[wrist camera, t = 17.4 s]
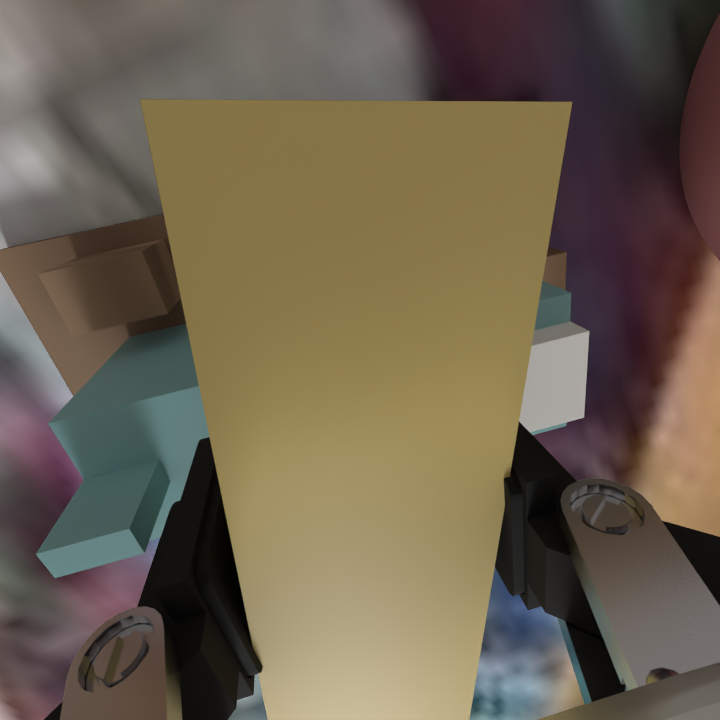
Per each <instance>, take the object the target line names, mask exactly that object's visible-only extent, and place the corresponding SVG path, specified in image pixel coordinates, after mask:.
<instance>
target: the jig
mask: <svg viewBox="0 0 720 720" xmlns="http://www.w3.org/2000/svg"><path fill="white" fill-rule="evenodd" d="M566 256H567V252H564V251H561V250H557V249H554V248H550V247H548V251H547V257H546V263H545V269H544V275H543V281H544V282H546V283H549V284H551V285H554V286H556V287H559V288H561V289H563V290H565V285H566ZM0 272H1V273H2V275H3V277H4V278H5V280H6V282H7V284H8V285H9V287H10V289H11V290H12V292H13V294H14V296H15V297H16V299H17V301H18V302H19V304H20V306H21V307H22V309H23V311H24V313H25V314H26V316H27V318H28V319H29V321H30V323H31V324H32V326H33V328H34V330H35V331H36V333H37V335H38V336H39V338H40V340H41V342H42V343H43V345H44V347H45V348H46V350H47V352H48V353H49V355H50V357H51V359H52V360H53V362H54V364H55V365H56V367H57V369H58V371H59V372H60V374H61V376H62V377H63V379H64V381H65V382H66V384H67V386H68V388H69V389H70V391H71V393H72V394H73V396H75V394H76V393H77V392H78V391H79V390H80V389H81V388H82V387H83V386H84V385H85V384H86V383H87V382H88V381H89V380H90V378H91V377H92V376H93V375H94V374H95V373H96V372H97V371H98V370H99V369H100V368H101V367H102V366H103V365H104V364H105V362H106V361H107V360H108V359H109V358H110V357H111V356H112V355H113V354H114V353H115V352H116V351H117V350H118V349H119V348H120V346H121V345H122V344H123V343H124V342H125V341H126V340H127V339H128V338H129V337H132V336H136V335H141V334H145V333H149V332H153V331H157V330H161V329H166V328H170V327H174V326H178V325H182V324H186V320H185V316H184V311H183V306H182V301H181V296H180V291H179V286H178V282H177V277H176V272H175V267H174V262H173V257H172V252H171V248H170V243H169V238H168V233H167V228H166V223H165V218H164V214H162V215H157V216H152V217H148V218H143V219H138V220H134V221H129V222H125V223H120V224H115V225H111V226H106V227H101V228H97V229H92V230H87V231H83V232H78V233H73V234H69V235H64V236H59V237H55V238H50V239H45V240H41V241H36V242H32V243H27V244H22V245H18V246H13V247H8V248H4V249H1V250H0Z"/></svg>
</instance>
